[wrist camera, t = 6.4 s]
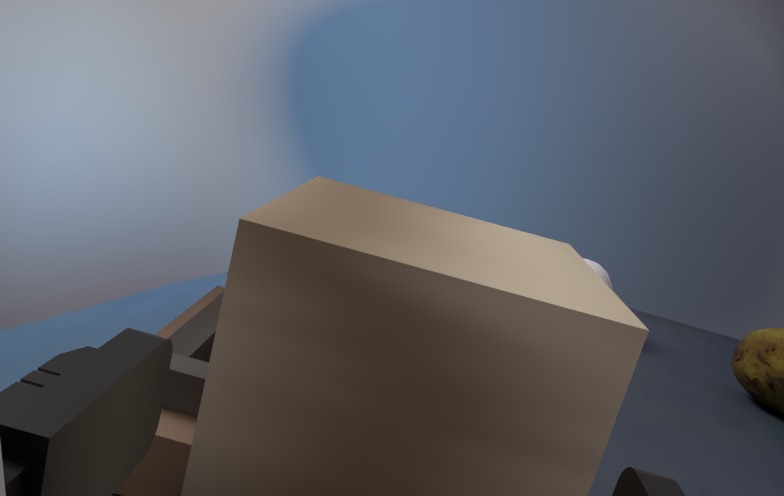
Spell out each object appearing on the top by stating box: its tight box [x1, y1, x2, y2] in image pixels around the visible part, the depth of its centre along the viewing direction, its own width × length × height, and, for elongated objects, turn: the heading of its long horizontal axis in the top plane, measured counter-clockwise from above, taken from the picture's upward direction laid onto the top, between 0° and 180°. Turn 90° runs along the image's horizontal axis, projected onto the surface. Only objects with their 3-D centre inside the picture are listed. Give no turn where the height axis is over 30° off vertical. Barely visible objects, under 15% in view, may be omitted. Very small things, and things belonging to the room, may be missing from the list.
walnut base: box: [114, 286, 225, 496], centre depth 23 cm, size 12×12×3 cm
